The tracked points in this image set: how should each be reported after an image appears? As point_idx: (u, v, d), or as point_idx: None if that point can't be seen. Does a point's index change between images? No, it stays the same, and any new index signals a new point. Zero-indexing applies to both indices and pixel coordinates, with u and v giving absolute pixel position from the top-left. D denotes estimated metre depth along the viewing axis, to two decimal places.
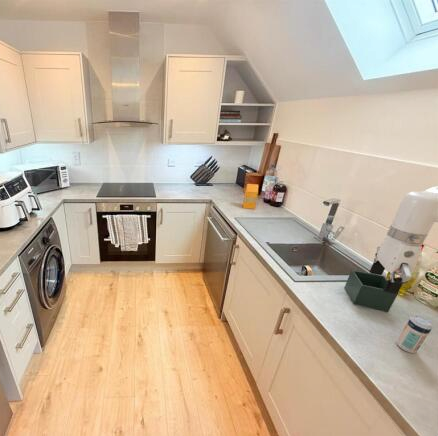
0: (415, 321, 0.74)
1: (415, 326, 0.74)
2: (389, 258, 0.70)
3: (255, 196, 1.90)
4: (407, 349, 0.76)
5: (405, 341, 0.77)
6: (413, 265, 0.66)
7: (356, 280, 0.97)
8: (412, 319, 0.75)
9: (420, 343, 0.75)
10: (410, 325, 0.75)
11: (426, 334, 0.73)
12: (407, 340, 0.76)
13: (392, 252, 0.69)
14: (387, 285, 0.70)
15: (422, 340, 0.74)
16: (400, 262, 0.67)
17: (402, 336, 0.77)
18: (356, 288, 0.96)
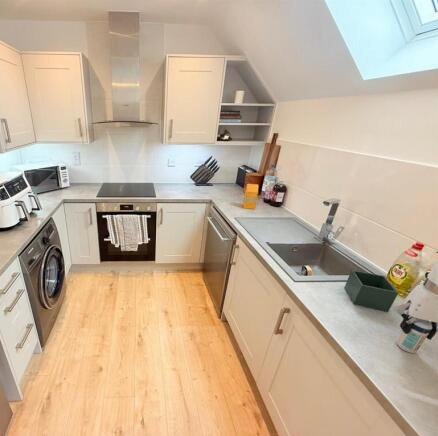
0: (415, 321, 0.74)
1: (415, 326, 0.74)
2: None
3: (255, 196, 1.90)
4: (407, 349, 0.76)
5: (405, 341, 0.77)
6: None
7: (356, 280, 0.97)
8: None
9: (420, 343, 0.75)
10: None
11: (426, 334, 0.73)
12: (407, 340, 0.76)
13: None
14: None
15: (422, 340, 0.74)
16: None
17: (402, 336, 0.77)
18: (356, 288, 0.96)
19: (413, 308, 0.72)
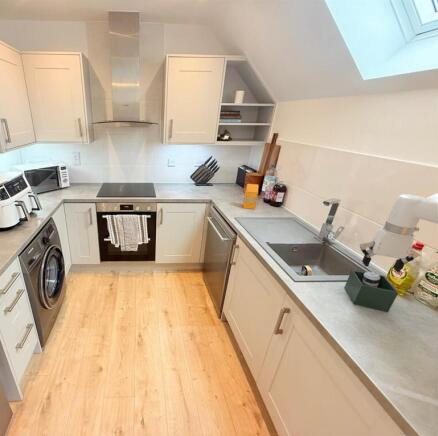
0: (366, 275, 0.94)
1: (367, 279, 0.94)
2: (402, 249, 0.86)
3: (255, 196, 1.90)
4: None
5: None
6: None
7: (356, 280, 0.97)
8: (365, 274, 0.95)
9: None
10: (364, 279, 0.95)
11: (376, 284, 0.93)
12: None
13: (405, 244, 0.85)
14: None
15: None
16: None
17: None
18: (356, 288, 0.96)
19: (376, 246, 0.89)
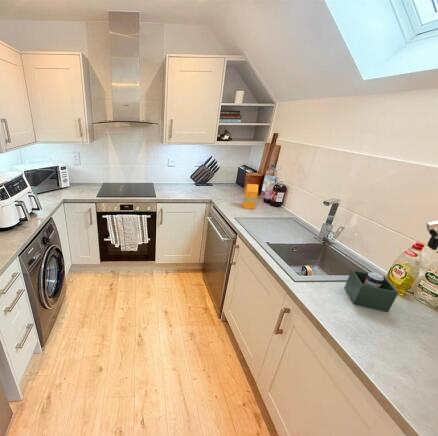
0: (371, 275, 0.94)
1: (371, 278, 0.94)
2: None
3: (255, 196, 1.90)
4: None
5: None
6: None
7: (356, 280, 0.97)
8: (369, 274, 0.95)
9: None
10: (367, 278, 0.95)
11: (379, 284, 0.93)
12: None
13: None
14: None
15: None
16: None
17: None
18: (356, 288, 0.96)
19: None
